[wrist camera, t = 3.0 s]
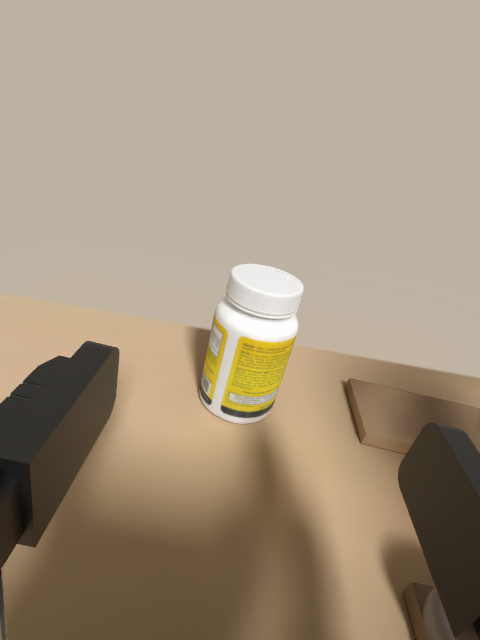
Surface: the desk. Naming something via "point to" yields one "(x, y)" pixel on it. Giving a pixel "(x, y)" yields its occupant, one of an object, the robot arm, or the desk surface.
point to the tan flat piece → (398, 435)
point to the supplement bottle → (250, 343)
